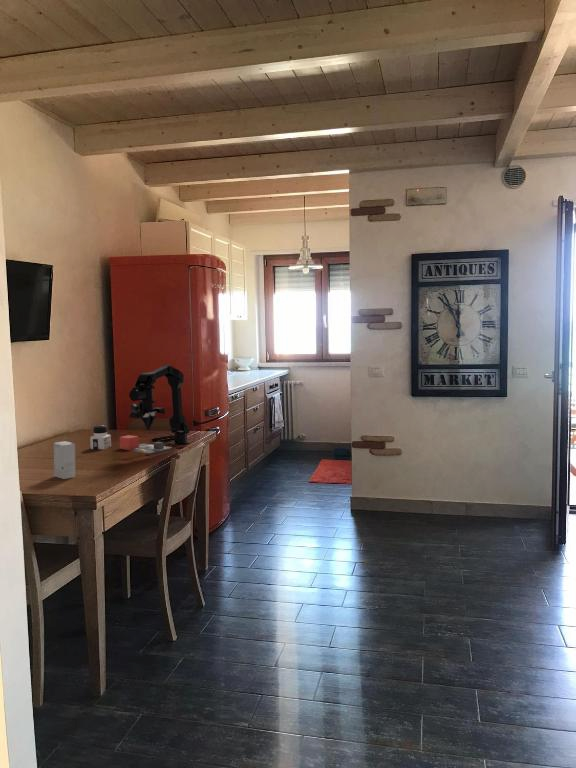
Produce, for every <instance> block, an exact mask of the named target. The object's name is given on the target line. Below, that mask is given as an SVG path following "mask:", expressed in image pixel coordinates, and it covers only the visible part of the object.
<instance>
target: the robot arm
mask: <svg viewBox="0 0 576 768" xmlns="http://www.w3.org/2000/svg"><path fill="white" fill-rule="evenodd" d="M162 377H165V378H166V379H167V384H168V385H169V387H170V389H171V403H172V404H171V406H172V415H171V418H169V420H168V421H169V427H170V431H171V433H172V434H173V433H174V436H173V437H174V439H173V440H174V441H173V443H172V445H179V446H184V445H187V444H190V441H188V434H189V433H190V432H191V428H190V427H189V425H188V424H187V419H186V417H185V416H184V414H183V405H182V404H183V402H182V401H183V400H182V386H183V384H184V377H185V376H184V373H183V372H182V371H181V370H179V369H177V368H175V367H174V365H173V366H172V365H171V364H164V365H162V366H160V367H159V368H156V369H155V370H153V371H150V372H143V373H140V374H138V377H137V379H136V382H135V384H134V386H133V387H132V389H131V390H130V391H129V394H128V397H129V398H130V400H131V401H132V402H138V404H136V403H132V404H130V409H131V411H130V412H129V418H132V419H141V420H142V422H143V424H144V426H145V429H146V430H147V431H150V429H151V428H152V426H153V423H154V421H155V419H156V417H158V415H157V414H160V415H163V414H166V410H165V408H164V407H154V403H156V401H155V400H154V390H155V389H156V388H155V386H154V384H155V383H156V382H157V380H158V379H160V378H162Z"/></svg>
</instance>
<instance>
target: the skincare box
mask: <svg viewBox="0 0 576 768" xmlns="http://www.w3.org/2000/svg"><path fill="white" fill-rule="evenodd" d="M53 477H55V478H59V479H62V480H66V479H67V480H68V479H71V478H75V477H76V444H75V443H73V442H71V441H65V440H63V441H56V442H53Z"/></svg>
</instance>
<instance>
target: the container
mask: <svg viewBox="0 0 576 768" xmlns="http://www.w3.org/2000/svg"><path fill="white" fill-rule="evenodd" d="M107 431H108V429H107V426H106V425H103V424H100V425H99V424H98V425H95V426H93V435H92V436H90V437H89V442H90V443H89V444H90V449H91V450H106V449H108V448H110V447H112V438H111V436H112V435H111V434H108V432H107Z"/></svg>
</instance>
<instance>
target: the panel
mask: <svg viewBox="0 0 576 768" xmlns="http://www.w3.org/2000/svg"><path fill="white" fill-rule="evenodd" d="M163 446H164V448H163V449H154V444H149V443H139V448H135V449H132V450H130V451H131V452H138V453H143V454H145V455H144V456H145V457H151V456H155V455H161V454H164V453H169V452H173V451H174V448H173V447H172V446H165V445H163ZM125 450H126V449H123V451H125ZM126 451H127V450H126Z"/></svg>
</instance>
